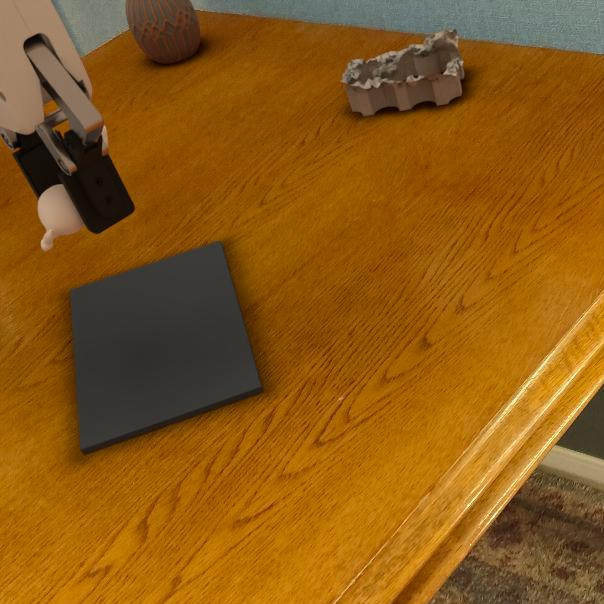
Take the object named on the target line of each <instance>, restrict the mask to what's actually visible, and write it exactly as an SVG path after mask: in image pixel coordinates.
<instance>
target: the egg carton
mask: <svg viewBox="0 0 604 604" xmlns="http://www.w3.org/2000/svg"><path fill="white" fill-rule="evenodd" d="M459 41H460V40H459V33H458V30H457V29H456V28H454V29H451V30H447V29H444V30H441V31H440V32H433V33H432V34H429V35H426V36H425V38H424V41H423V43H419V44H417V43H411V44H409V45H408V47H407V48H404V49H401V50H399V51H394V50H393V51H392V50H390V51H388V52H387V51H386V52H384V53H382V54H380V55H377V56H375V58H373V57H371V58H369V59H368V60H367V61H365V59H364V57H362V58H355V59H353V58H351V60H350V62H348V63H347V68H346V69H345V70H344V73H342V79H341V80H339V82H341V83H342V84H344V85H345V92H346V95H347V98H348V102H349V105H350V108H351V111H352V113H353V112H355V113H356V112H357V113H361V114H362V116H363V117H368V116H374V115H375V114H376V112H377V111H380V110H381V109H383V108H388V107H395V108H396V109H397V108H398V110H399V111H401V112H402V111H408V110H412V109H413V107H414V106H416V105H417V104H420V103H423V102H433V103H435V104H436V106H445V105H448V104H449V102H450V101H451V100H453V99H455V98H458V97H461V96H462V94H463V88H462V83H461V80H464V79H465V71H464V59H463V57H462V55H461V51H459V48H458V46H459ZM416 76H417V77H416Z"/></svg>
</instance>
